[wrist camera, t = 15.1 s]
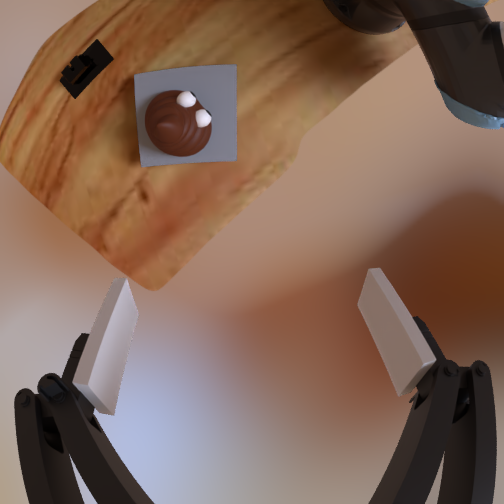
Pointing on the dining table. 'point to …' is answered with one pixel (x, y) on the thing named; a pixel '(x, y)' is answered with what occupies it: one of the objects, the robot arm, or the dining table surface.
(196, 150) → the poop emoji
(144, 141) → the grey block
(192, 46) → the dining table surface
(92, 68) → the black mounting bracket
